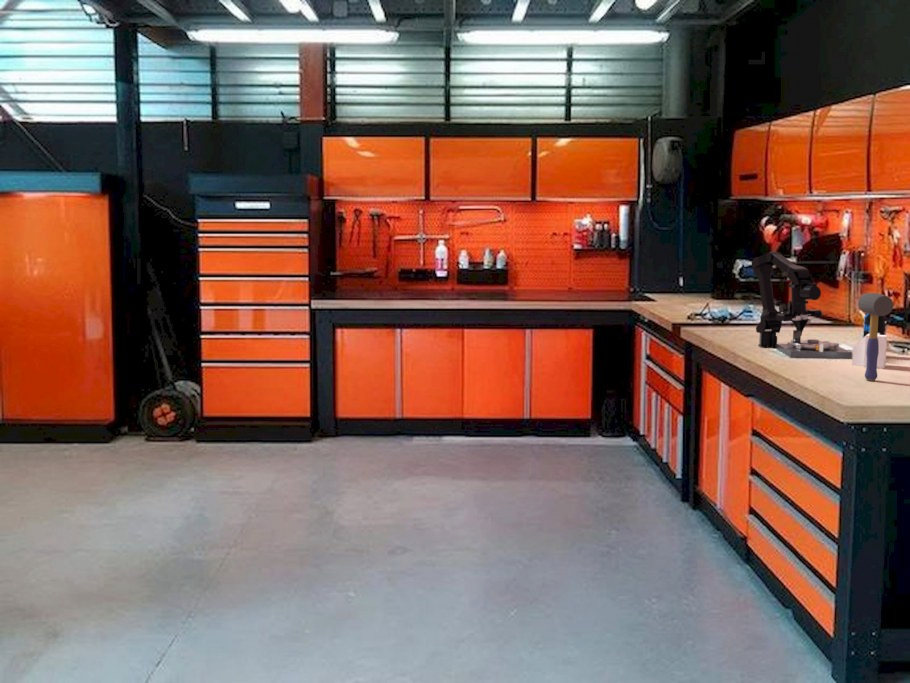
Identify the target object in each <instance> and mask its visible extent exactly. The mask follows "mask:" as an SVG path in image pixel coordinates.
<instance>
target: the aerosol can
mask: <svg viewBox="0 0 910 683" xmlns="http://www.w3.org/2000/svg"><path fill="white" fill-rule="evenodd" d="M863 318H864V320H863V336H862V338H864V337H865V336H866V335H867V334H869V332H870V318H871V314H868V313H866V314H865V315H864V316H863ZM886 319H887V317H886V315H885V316H878V333H880V335H885V330H886V329H885V328H886Z"/></svg>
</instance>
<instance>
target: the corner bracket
mask: <svg viewBox="0 0 910 683" xmlns="http://www.w3.org/2000/svg"><path fill="white" fill-rule="evenodd" d="M877 338H878V343H879V353H878V358H877V369H881V370H883V369H885V368H886V363H887V362H886V361H887V347H888V346H887V345H888V335H887V334H884V335H880V333H878V334H877ZM868 339H869V334H867V335H866V336H865V337H864V338H863V337H862V338H861V339H860V340H859V341H858V342H855V344H854V345H852V346H853V347H852V358H851V360H852V362H851V364H852V366H861V367H863V368H866V366H867V354H866V352H867V343H868Z"/></svg>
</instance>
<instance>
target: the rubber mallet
mask: <svg viewBox="0 0 910 683" xmlns="http://www.w3.org/2000/svg"><path fill="white" fill-rule="evenodd" d="M857 306H858V307H859V308H858V309H859V310H860V311H862V312H863V313H865V314H871V318H870V332H869V339H868V343H867V352H866V354H867V366H866V367H865V373H864V377H865V380H866V381H868V382H874V381H876V380H877V379H878V370H877V369H878V368H877V358H878V353H879V343H878V338H877V334H878V316H885V317H886V316H888V315H889V314H890V313H891V312H892V311H893V310H894V301H893V300H892V298H891V297H889V296H888V295H885V294H882V293H877V292H876V293H875V292H865V293H863V294H861V295H860V297H859V298H858V301H857Z"/></svg>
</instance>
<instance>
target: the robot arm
mask: <svg viewBox="0 0 910 683" xmlns="http://www.w3.org/2000/svg"><path fill="white" fill-rule="evenodd" d="M774 266H776V267H777V268H779V269H780V270H781V271H783V273H786V278H787V279H789V281H790V283H789V284H787V287H788V288H791V289H790V292H791V293H790V298H791V299H790V300H789V302H788V305H786V304H784V303H782V304H779V305H778V310H777V309H776V306H775V299H774V293H773V292H774V291H773V287H772V281H771V280H772V279H771V275H772V273H773V271H774ZM751 268H752V273H754V275H755V276H756V277H757V279H758V286H759V292H760V297H761V298H760V299H761V304H762V312H761V315H760V318H759V320H760V321H759V323H758V324H757V325H756V327H755V330H756V331H755V332H756V333H758V334H759V342H758V347H760V348H776V344H778V336H777V334H780V331H781V329H782V326H783V322H791V323H792V324H793V325H794V327H795V330H801V336H802V334H803V331H804V329H805V327H806V326H807V323H808V322H809V321H810V320H811V318H808V317H815V318H823V313H822V310H821V309H814V308H813V309H807V304H809V300H810V301H817V300H818V299H820V298H821V294H822V291H821V289H820V287H819V286H818V283H816V282H815V281H814V279H813V277H812V276H811V273H810V271H809V269H808V268H807V267H805V266H801V265H797V264H795V263H794V262H792V261H791V260H789V259H788V258H786V257H785V256H783V254H781V253H780V252H778V251H769V252H767V253H765V254H762V255H760V256H758V257H757V256H755V257H754V258H753V260H752V261H751Z"/></svg>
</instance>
